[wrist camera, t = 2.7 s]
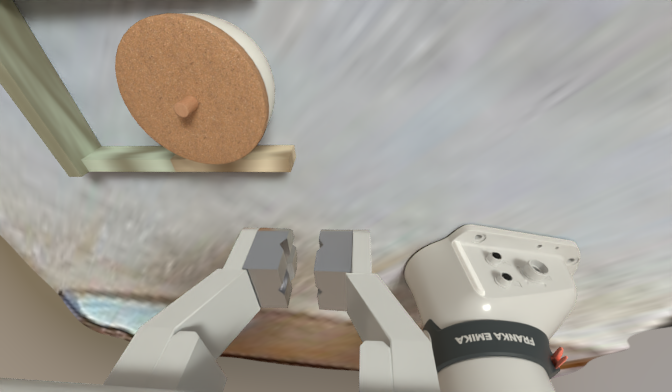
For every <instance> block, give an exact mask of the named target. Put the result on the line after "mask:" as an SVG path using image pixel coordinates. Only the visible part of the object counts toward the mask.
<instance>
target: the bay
mask: <svg viewBox="0 0 672 392" xmlns="http://www.w3.org/2000/svg"><path fill="white" fill-rule="evenodd" d="M0 84H1V85H2V86H3V88H4V89H5V90H6V92H7V93H8V94H9V96H10V97H11V98H12V100H13V101H14V102H15V104H16V105H17V107H18V108H19V109H20V111H21V112H22V113H23V115H24V116H25V117H26V119H27V120H28V121H29V123H30V124H31V126H32V127H33V128H34V130H35V131H36V132H37V134H38V135H39V136H40V138H41V139H42V140H43V142H44V143H45V144H46V146H47V147H48V149H49V150H50V151H51V153H52V154H53V155H54V157H55V158H56V159H57V161H58V162H59V163H60V165H61V166H62V168H63V169H64V170H65V172H66V173H67V174H68V176H69V177H82V176H84V175H85V174H87V173H88V172H291V170H292V167H293V164H294V161H295V159H296V154H295V148H294V145H260V146H256V147H255V148H254V149H253V150H252V151H251V152H250V153H249V154H248V155H246V156H245V157H243V158H241V159H239V160H237V161H234V162H230V163H226V164H204V163H199V162H195V161H192V160H188V159H185V158H183V157H181V156H179V155H176V154H175V153H173V152H171V151H169V150H167V149H166V148H164V147H163V146H101V145H100V143H99V142H98V140H97V138H96V137H95V135H94V133H93V132H92V130H91V128H90V127H89V125H88V123H87V122H86V120H85V119H84V117H83V115H82V114H81V112H80V110H79V109H78V107H77V105H76V104H75V102H74V100H73V99H72V97H71V95H70V94H69V92H68V91H67V89H66V87H65V86H64V84H63V82H62V81H61V79H60V77H59V76H58V74H57V72H56V71H55V69H54V68H53V66H52V64H51V63H50V61H49V59H48V58H47V56H46V54H45V53H44V51H43V49H42V48H41V46H40V44H39V43H38V41H37V40H36V38H35V36H34V35H33V33H32V31H31V30H30V28H29V26H28V25H27V23H26V21H25V20H24V18H23V17H22V15H21V13H20V12H19V10H18V8H17V7H16V5H15V3H14V2H13V0H0Z"/></svg>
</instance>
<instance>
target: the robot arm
mask: <svg viewBox="0 0 672 392" xmlns="http://www.w3.org/2000/svg"><path fill="white" fill-rule="evenodd" d="M293 241H294V235H293V230H291V229H277V228H248V227H245V228H244V229H242V230H241V232H240V234H239V236H238V238H237V240H236V242H235V244H234V246H233V248H232V250H231V253H230V255H229V257H228V259H227V261H226V263H225V265H224V267H223V269H217V270H215V271H214V272H213V273H211V274H210V275H209V276H207V277H206V278H205V279H203V280H202V281H201V282H199V283H198V284H197V285H195V286H194V287H193V288H191V289H190V290H189V291H187V292H186V293H185V294H183V295H182V296H181V297H179V298H178V299H177V300H175V301H174V302H173V303H171V304H170V305H169V306H167V307H166V308H165V309H163V310H162V311H161V312H159V313H158V314H157V315H155V316H154V317H153V318H151V319H150V320H149V321H147V322H146V323H145V324H143V325H142V326H141V327H140V328H139V329H138V331H137V332H136V334H135V336H134V337H133V339H132V340H131V342H130V343H129V345H128V347H127V348H126V350H125V351H124V353H123V354H122V356H121V358H120V359H119V361H118V362H117V364H116V365H115V367H114V368H113V370H112V372H111V373H110V375H109V376H108V378H107V379H106V381H105V383H104V384H103V385H96V384H82V383H68V382H53V381H39V380H25V379H10V378H0V392H223V390H224V387H225V384H226V380H227V378H226V376H225V373H224V372H223V370H222V369H221V367H220V366H219V365H218V363H217V362H216V359H217V358H218V357H219V356H220V355H221V354H222V352H223V351H224V350H225V349H226V348H227V347H228V346H229V344H230V343H231V342H232V341H233V340H234V339H235V338H236V337H237V335H238V334H239V333H240V332H241V331H242V330H243V329H244V327H245V326H246V325H247V324H248V323H249V322H250V321H251V319H252V318H253V317H254V316H255V315H256V314H257V313H258V311H259V310H260V307H265V308H288V305H289V300H290V296H291V292H292V285H291V280H292V279H293V278H294V277H295V274H296V269H297V250H296V247H295V246H294V245H293ZM319 244H320V249H319V250H318V251H317V254H316V261H315V267H314V275H315V283H316V287H317V288H318V295H317V297H318V304H319V309H323V310H337V311H347V313H348V315H349V317H350V319H351V321H352V323H353V325H354V327H355V328H356V330H357V332H358V334H359V336H360V338H361V340H362V342H363V343H362V344H361V345H360V368H359V392H556V391H555V389H554V387H553V385H552V383H551V381H550V379H551V378H552V377H553V376H555V375H556V374H557V373H558V372H559V371H560V368H559V366H561V365H562V364H563V363H564V362H565V361H566V359H567V358H568V357H567V356H564V357H563V358H561V356H562V354H563V348H562V347H560V348H558V349H557V350H556V352H555V353H554V354H552V352H551V350H550V348H549V339H550V338H551V337H552V336H553V335H554V333H555V332H556V331H557V330H558V329H559V327H560V326H561V325H562V324H563V322H564V321H565V320H566V318H567V317H568V316H569V315H570V313H571V312H572V310H573V308H574V306H575V304H576V300H577V288H576V285H575V282H574V280H573V277H572V276H573V275H574V273H575V271H576V269H577V267H578V264H579V261H580V251H579V248H578V246H577V245H576V243H575V242H574V241H570V240H565V239H559V238H553V237H546V236H540V235H534V234H528V233H522V232H516V231H509V230H503V229H497V228H491V227H485V226H479V225H472V224H468V225H464V226H462V227H460V228H459V229H457V230H456V231H455V232H453V233H452V234H451V235H450V236H448V237H447V238H445V239H443V240H440V241H438V242H435V243H433V244H430V245H428V246H426V247H425V248H423V249H421V250H420V251H418V252H417V253H416V254H415V255H414V256H413V257H412V258H411V259H410V260H409V262H408V263H407V265H406V268H405V272H404V276H405V280H406V283H407V284H408V286H409V288H410V290H411V292H412V295H413V297H414V299H415V302H416V305H417V308H418V311H419V314H420V317H421V320H422V324H423V332H422V330H421V329H420V328H419V327H418V325H417V324H416V323H415V322H414V320H413V319H412V318H411V317H410V315H409V314H408V313H407V311H406V310H405V309H404V308H403V306H402V305H401V304H400V303H399V301H398V300H397V299H396V298H395V296H394V295H393V294H392V292H391V291H390V290H389V289H388V287H387V286H386V285H385V284H384V282H383V281H382V280H381V279H380V277H379V276H378V275H377V274H372V269H371V240H370V231H369V230H321V231H320V236H319Z"/></svg>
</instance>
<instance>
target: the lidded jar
mask: <svg viewBox="0 0 672 392" xmlns="http://www.w3.org/2000/svg"><path fill="white" fill-rule="evenodd" d="M115 70H116V77H117V83H118V86H119V90H120V93H121V95H122V98H123V100H124V102H125V104H126V106H127V108H128V110H129V111H130V113H131V115H132V116H133V117H134V119H135V120H136V121H137V123H138V124H139V125H140V126H141V127H142V128H143V130H144V131H145V132H146V133H147V134H148V135H149V136H150V137H152V138H153V139H154V140H155V141H156V142H158V143H159V144H160V145H162V146H163V147H164V148H166V149H167V150H169V151H171V152H173V153H175V154H176V155H179V156H181V157H183V158H185V159H188V160H192V161H195V162H199V163H204V164H226V163H230V162H234V161H237V160H239V159H241V158H243V157H245V156H246V155H248V154H249V153H250V152H251V151H252V150H253V149H254V148H255V147H256V146H257V144H258V143H259V141H260V140H261V138H262V137H263V135H264V132H265V130H266V127H267V125H268V123H269V121H270V118H271V116H272V112H273V108H274V103H275V83H274V78H273V74H272V70H271V68H270V65H269V63H268V61H267V59H266V57H265V55H264V54H263V52H262V51H261V49H260V48H259V47H258V45H257V44H256V43H255V42H254V41H253V40H252V39H251V38H250V37H249V36H248V35H247V34H246V33H245V32H244V31H242V30H241V29H240V28H238V27H237V26H235V25H233V24H231V23H230V22H227V21H225V20H222V19H220V18H217V17H214V16H210V15H206V14H199V13H179V14H173V13H166V14H160V15H154V16H150V17H147V18H145V19H142V20H140V21H138V22H137V23H135V24H134V25H133V26H131V27H130V28H129V29H128V31H127V32H126V33H125V34H124V35H123V37H122V39H121V41H120V43H119V45H118V49H117V54H116V65H115Z"/></svg>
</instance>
